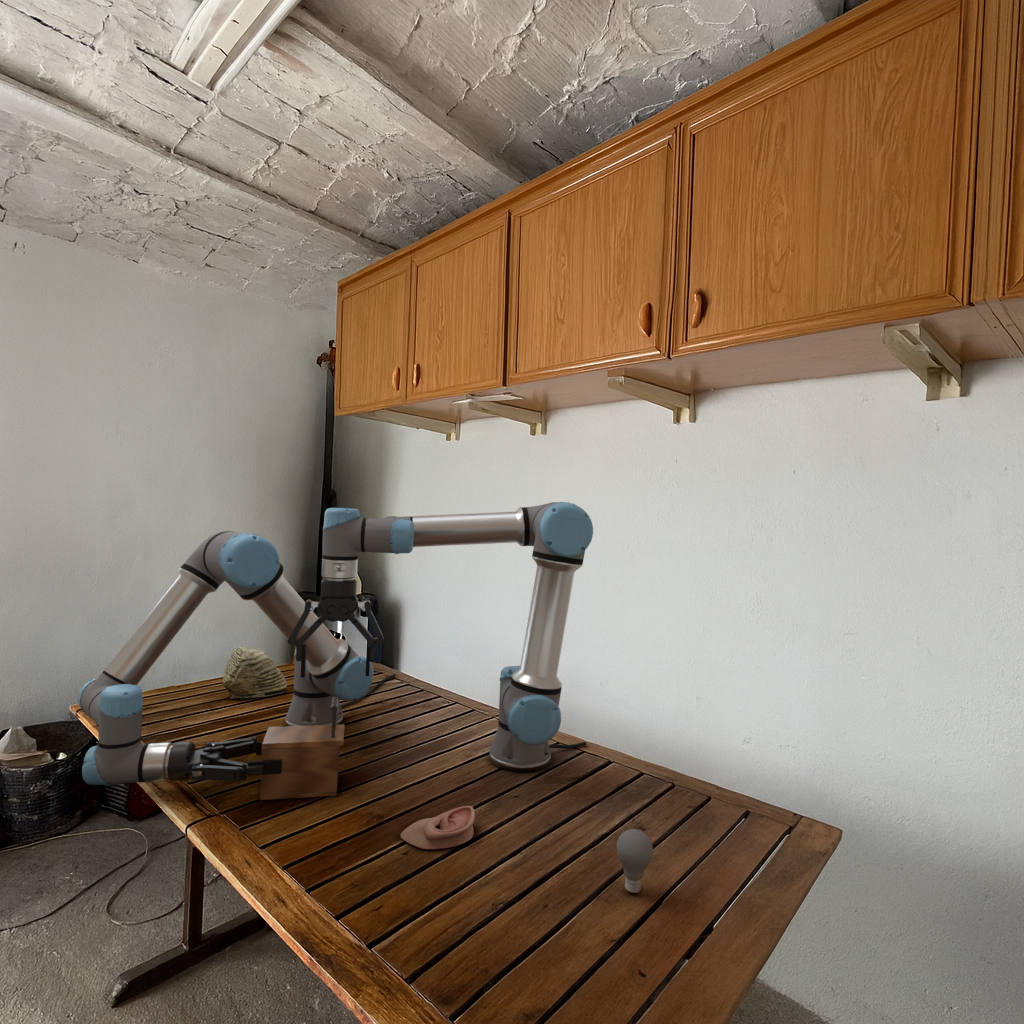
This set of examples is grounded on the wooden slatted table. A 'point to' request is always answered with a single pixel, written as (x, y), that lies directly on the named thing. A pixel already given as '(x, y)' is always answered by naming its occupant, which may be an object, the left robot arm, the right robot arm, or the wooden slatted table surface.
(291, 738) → the lid
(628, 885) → the light bulb
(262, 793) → the chest
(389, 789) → the wooden slatted table surface
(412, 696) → the wooden slatted table surface
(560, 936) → the wooden slatted table surface
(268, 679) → the fossil
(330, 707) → the left robot arm
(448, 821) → the anatomical model
